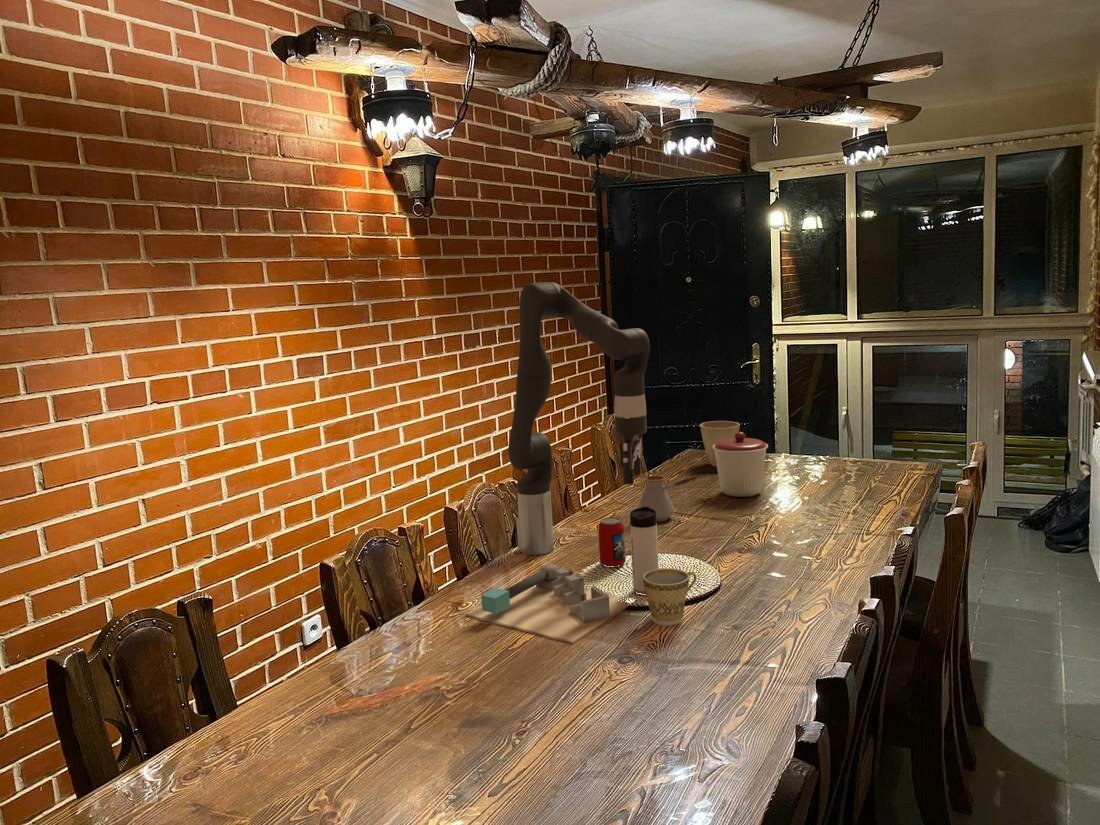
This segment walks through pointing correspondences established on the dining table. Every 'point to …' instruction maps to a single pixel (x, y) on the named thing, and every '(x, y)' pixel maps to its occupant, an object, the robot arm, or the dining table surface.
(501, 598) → the cable arm
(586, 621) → the end holder
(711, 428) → the plant pot
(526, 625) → the board
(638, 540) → the travel mug
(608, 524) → the beverage can
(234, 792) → the dining table surface
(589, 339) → the robot arm
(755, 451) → the canister
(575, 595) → the clip
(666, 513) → the coffee pot
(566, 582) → the clip
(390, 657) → the dining table surface
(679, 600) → the ceramic cup
